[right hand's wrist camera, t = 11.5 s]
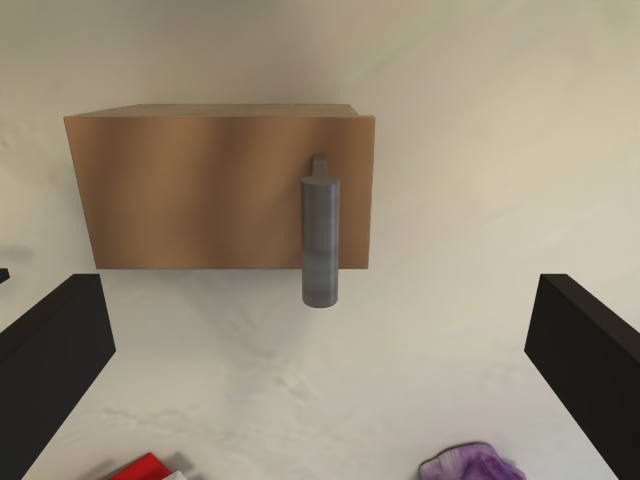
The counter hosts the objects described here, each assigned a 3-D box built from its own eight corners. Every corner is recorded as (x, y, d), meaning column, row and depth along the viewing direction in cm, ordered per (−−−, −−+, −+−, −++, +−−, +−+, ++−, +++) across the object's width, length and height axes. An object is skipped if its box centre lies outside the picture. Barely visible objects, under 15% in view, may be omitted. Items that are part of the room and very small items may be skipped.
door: (373, 115, 23) (401, 136, 15) (366, 263, 27) (387, 343, 19) (72, 115, 23) (-57, 136, 15) (103, 263, 27) (11, 344, 19)
